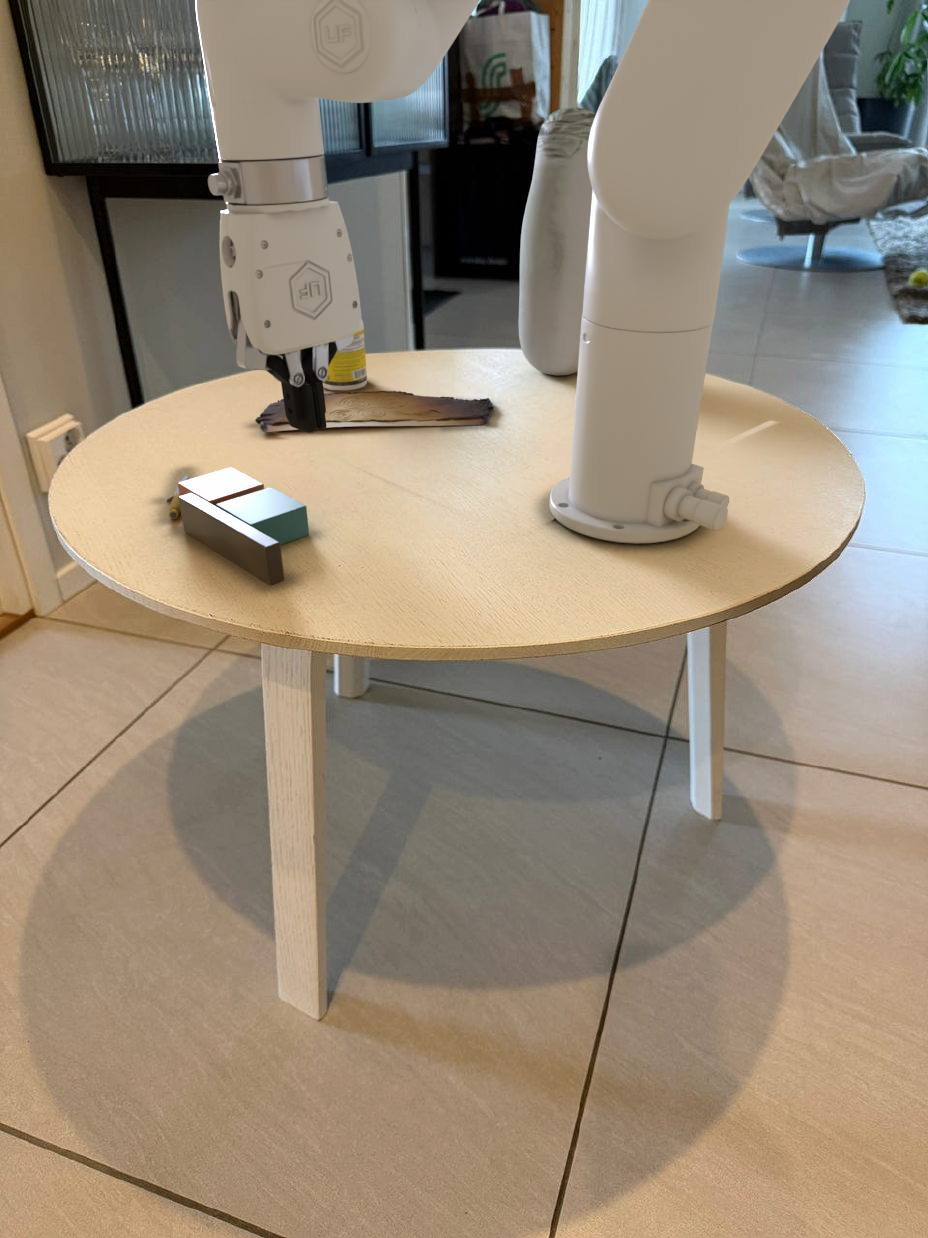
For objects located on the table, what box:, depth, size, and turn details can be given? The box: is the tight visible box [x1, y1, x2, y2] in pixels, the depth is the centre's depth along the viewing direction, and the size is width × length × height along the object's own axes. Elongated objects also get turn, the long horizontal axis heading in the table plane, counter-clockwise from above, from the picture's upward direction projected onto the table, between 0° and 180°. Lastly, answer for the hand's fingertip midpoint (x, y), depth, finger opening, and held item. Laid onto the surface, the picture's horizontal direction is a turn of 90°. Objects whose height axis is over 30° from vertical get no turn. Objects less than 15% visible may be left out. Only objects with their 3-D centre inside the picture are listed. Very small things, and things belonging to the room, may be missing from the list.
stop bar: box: [178, 493, 285, 586], centre depth 65 cm, size 12×1×3 cm, turn 45°
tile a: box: [216, 486, 310, 546], centre depth 68 cm, size 5×5×2 cm
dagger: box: [166, 475, 189, 520], centre depth 75 cm, size 11×1×2 cm
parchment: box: [255, 390, 495, 433], centre depth 92 cm, size 25×10×1 cm, turn 97°
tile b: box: [177, 467, 265, 506], centre depth 71 cm, size 5×5×2 cm
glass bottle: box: [518, 106, 596, 377], centre depth 99 cm, size 10×10×28 cm
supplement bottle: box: [323, 319, 368, 391], centre depth 99 cm, size 5×5×10 cm
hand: (307, 426), depth 74 cm, fingers closed
